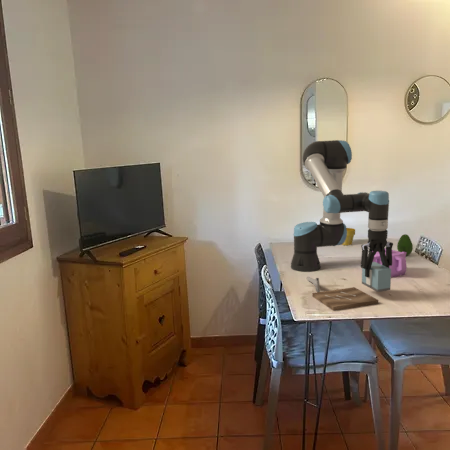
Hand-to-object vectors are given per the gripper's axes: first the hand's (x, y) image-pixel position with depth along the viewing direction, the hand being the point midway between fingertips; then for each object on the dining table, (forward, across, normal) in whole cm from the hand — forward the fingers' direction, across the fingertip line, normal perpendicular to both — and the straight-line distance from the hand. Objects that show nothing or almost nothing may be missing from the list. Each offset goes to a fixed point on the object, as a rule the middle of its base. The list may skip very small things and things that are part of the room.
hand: (375, 283), depth 179 cm
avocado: (+6, +53, +48) cm, 72 cm away
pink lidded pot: (+6, +24, +24) cm, 35 cm away
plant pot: (+7, +39, +85) cm, 94 cm away
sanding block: (+1, 0, 0) cm, 1 cm away
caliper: (+6, -18, +22) cm, 29 cm away
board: (+5, -15, -1) cm, 16 cm away
